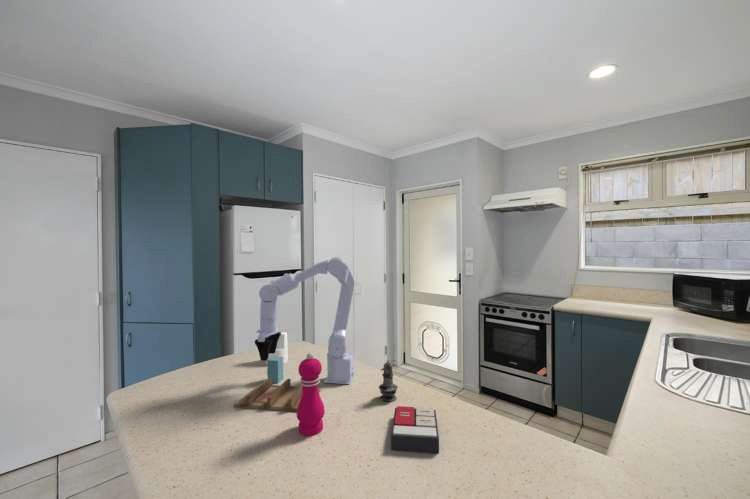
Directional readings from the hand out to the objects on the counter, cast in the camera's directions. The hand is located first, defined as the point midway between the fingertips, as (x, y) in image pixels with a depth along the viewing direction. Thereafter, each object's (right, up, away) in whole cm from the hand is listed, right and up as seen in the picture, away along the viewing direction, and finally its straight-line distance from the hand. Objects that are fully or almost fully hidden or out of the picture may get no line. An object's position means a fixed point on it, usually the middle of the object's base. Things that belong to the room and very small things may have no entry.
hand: (268, 356), depth 113 cm
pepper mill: (+21, -10, -29) cm, 37 cm away
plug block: (+2, -10, +3) cm, 10 cm away
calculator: (+48, -10, -31) cm, 58 cm away
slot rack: (+8, -10, -11) cm, 17 cm away
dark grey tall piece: (+42, -9, -12) cm, 45 cm away
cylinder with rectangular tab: (-4, -10, +23) cm, 25 cm away
